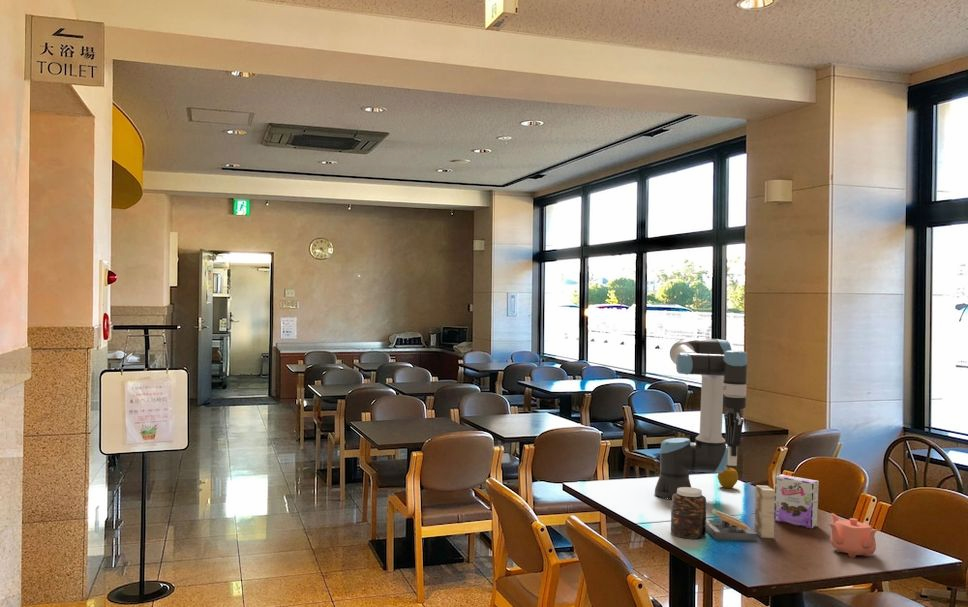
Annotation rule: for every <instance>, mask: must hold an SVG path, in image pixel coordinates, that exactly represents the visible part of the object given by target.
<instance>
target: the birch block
mask: <svg viewBox="0 0 968 607" xmlns="http://www.w3.org/2000/svg"><path fill="white" fill-rule="evenodd" d="M754 493H755V494H754V496H755V497H754V499H755V500H754V523H753V524H754V527H753V529H754V530H753V531H755V532H756V533H757V536H759V537H760V538H763V539H764V538H765V539H774V538H775V537H774V536H775V534H774V533H775V532H774V531H775V520H774V508H775V489H773V488H772V487H770V486H769V485H759V484H758V485H757V484H756V485H755V492H754Z"/></svg>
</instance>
